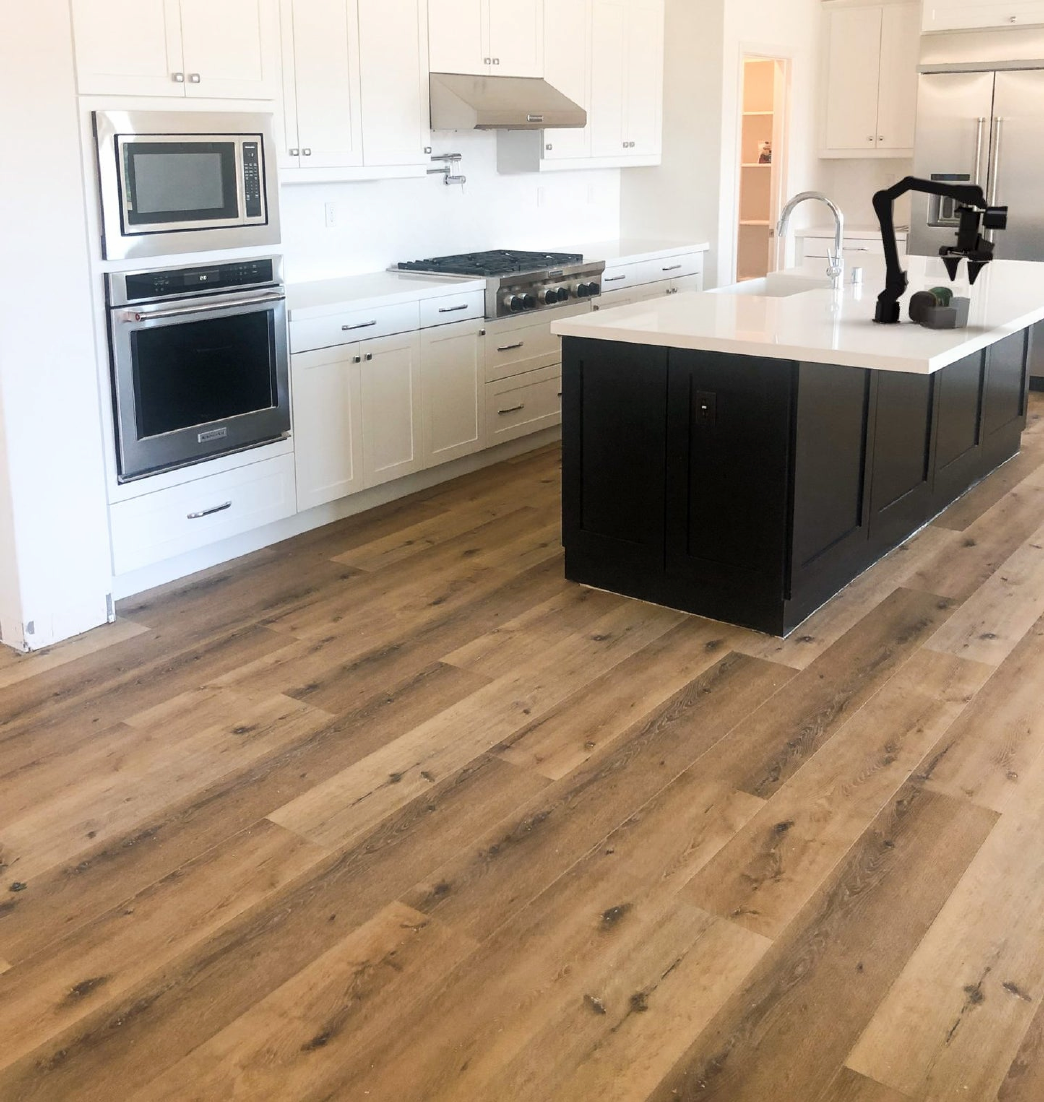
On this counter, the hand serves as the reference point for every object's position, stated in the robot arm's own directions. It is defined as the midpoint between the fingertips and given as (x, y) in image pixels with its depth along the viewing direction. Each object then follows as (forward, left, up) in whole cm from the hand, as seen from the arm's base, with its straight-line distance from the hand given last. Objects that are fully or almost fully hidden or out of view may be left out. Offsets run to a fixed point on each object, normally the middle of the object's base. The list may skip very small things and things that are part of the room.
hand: (961, 283), depth 360 cm
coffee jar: (+6, +18, -8) cm, 21 cm away
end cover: (-3, 0, -13) cm, 13 cm away
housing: (-7, 0, -13) cm, 15 cm away
